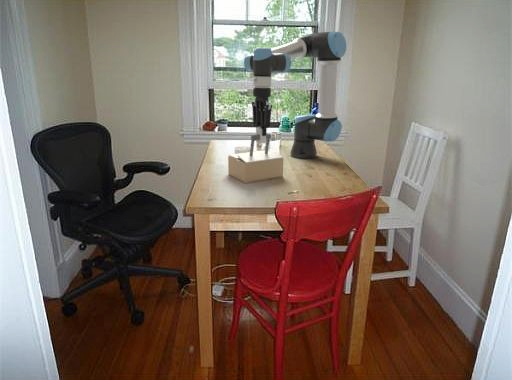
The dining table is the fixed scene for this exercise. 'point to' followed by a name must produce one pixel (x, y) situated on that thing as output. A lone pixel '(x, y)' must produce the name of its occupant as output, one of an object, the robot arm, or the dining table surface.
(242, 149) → the white cup
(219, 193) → the dining table surface
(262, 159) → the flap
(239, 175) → the cabinet
